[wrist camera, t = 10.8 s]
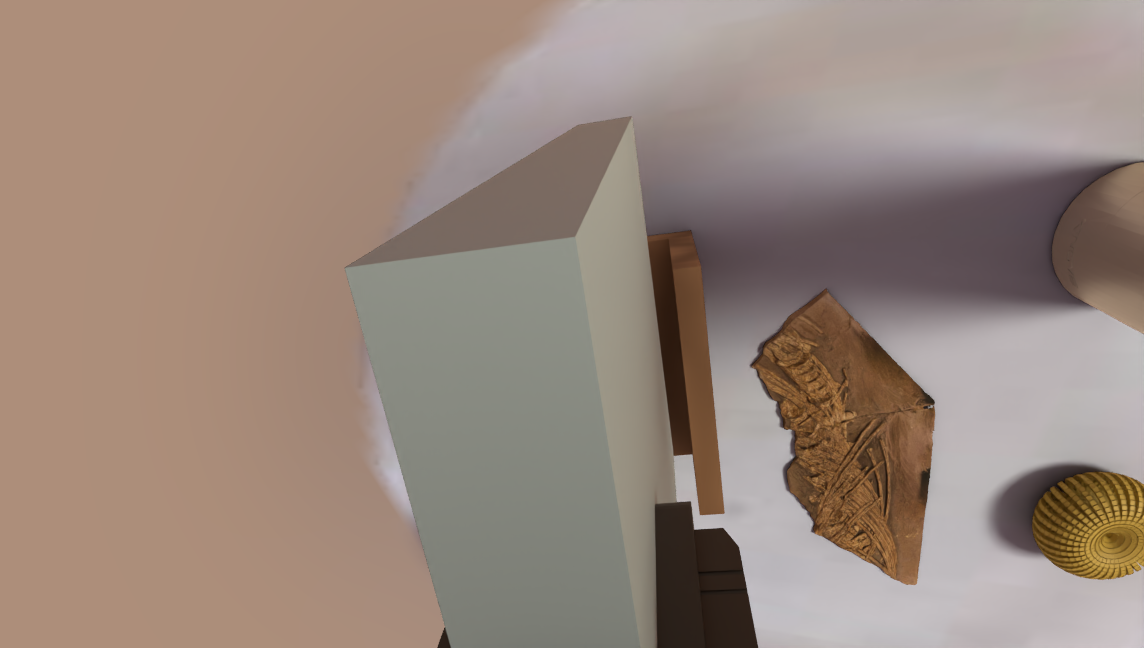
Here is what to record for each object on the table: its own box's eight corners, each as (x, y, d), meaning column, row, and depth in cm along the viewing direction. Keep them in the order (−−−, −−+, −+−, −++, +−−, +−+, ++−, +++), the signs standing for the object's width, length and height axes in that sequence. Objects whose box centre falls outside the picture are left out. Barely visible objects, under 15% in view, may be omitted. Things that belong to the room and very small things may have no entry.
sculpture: (1093, 610, 46) (1028, 538, 44) (1059, 570, 50) (998, 502, 48) (1209, 551, 43) (1145, 472, 42) (1164, 513, 47) (1104, 439, 46)
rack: (690, 230, 43) (701, 266, 35) (711, 441, 49) (724, 513, 41) (457, 261, 46) (418, 300, 38) (502, 458, 51) (476, 529, 43)
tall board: (632, 116, 24) (575, 237, 5) (673, 450, 28) (720, 1150, 10) (578, 125, 24) (345, 267, 6) (627, 454, 29) (588, 1138, 10)
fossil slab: (736, 314, 45) (738, 319, 44) (902, 264, 43) (908, 268, 42) (822, 597, 53) (826, 607, 52) (966, 569, 51) (973, 578, 50)
